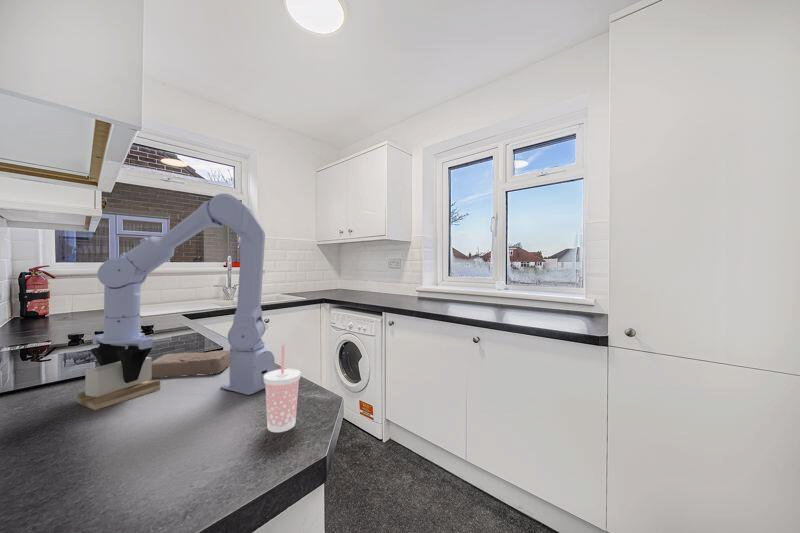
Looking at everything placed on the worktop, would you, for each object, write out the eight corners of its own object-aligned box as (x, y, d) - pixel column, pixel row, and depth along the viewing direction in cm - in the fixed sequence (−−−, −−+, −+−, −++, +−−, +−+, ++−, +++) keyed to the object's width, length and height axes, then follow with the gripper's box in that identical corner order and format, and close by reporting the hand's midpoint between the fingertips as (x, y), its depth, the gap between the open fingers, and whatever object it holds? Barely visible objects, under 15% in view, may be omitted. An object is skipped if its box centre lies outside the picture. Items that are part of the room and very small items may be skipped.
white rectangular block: (97, 397, 59) (98, 371, 59) (85, 395, 60) (85, 369, 60) (151, 379, 69) (151, 357, 69) (140, 377, 70) (140, 356, 70)
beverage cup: (271, 416, 56) (273, 341, 56) (304, 417, 56) (305, 341, 56) (255, 434, 50) (257, 349, 50) (292, 435, 50) (294, 350, 50)
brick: (147, 379, 74) (147, 360, 74) (165, 368, 83) (166, 351, 83) (220, 376, 78) (221, 357, 78) (231, 365, 86) (232, 349, 86)
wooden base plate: (159, 389, 68) (160, 380, 68) (94, 410, 58) (95, 399, 58) (142, 384, 71) (142, 375, 71) (77, 403, 61) (77, 393, 61)
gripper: (167, 315, 66) (166, 376, 66) (119, 312, 70) (118, 370, 70) (131, 320, 60) (130, 389, 60) (80, 316, 63) (79, 381, 63)
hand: (121, 379), depth 64 cm, fingers open, 5 cm apart
